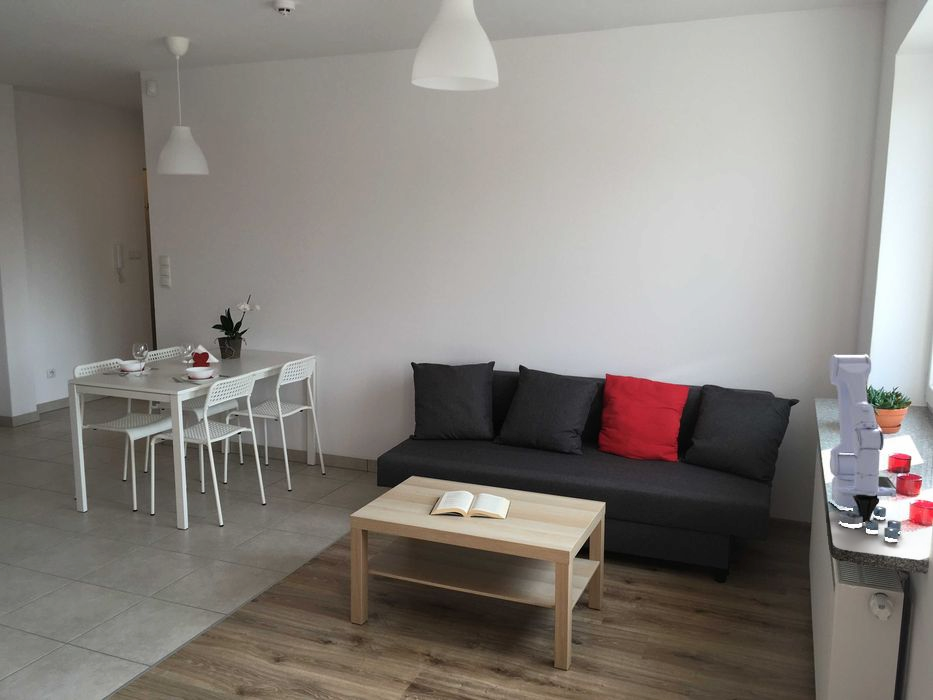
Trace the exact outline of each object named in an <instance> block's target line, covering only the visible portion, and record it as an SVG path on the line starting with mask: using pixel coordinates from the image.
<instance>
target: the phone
mask: <svg viewBox="0 0 933 700" xmlns="http://www.w3.org/2000/svg"><path fill="white" fill-rule="evenodd" d="M878 487H885V488H894V489H897V487H896V486H895V485H894V483H893V482H892V481H891V479H890V478H889V477H888V476H880V475H879V482H878Z"/></svg>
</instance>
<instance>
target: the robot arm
mask: <svg viewBox="0 0 933 700" xmlns="http://www.w3.org/2000/svg"><path fill="white" fill-rule="evenodd" d="M871 360H872V359H871V358H870V356H869V355H868V354H832V355H831V356H830V358H829V365H828V366H829V380H830V384H831V385H833V386H836V390H837V391H836V392H837V398H838V401H837V405H838V417H839V421H838V422H839V436H840V437H839V438H840V442H839V443H838V444H837V445H835V446H834V447H833V448H831V450H830V458H829V470H830V473H831V474H832V475H833V478H832V480H831V499H832V500H834V501H835V503H836V504H837V505H839V506H843V507H847V508H853V507H854V506H858V509H859V513H860V515H861V516H863V522H865V521H866V520H871V517H872V515H873V511H874V509H875V507H876V506H878V504H879V503H880V498H879V497H891V498H897V493H896V490H895V489H894V488H885V487H878V482H879V476H880V475H879V474H880V456H881V455H880V453H881V452H880V451H882V450H883V448H884V445H885V444H884V441H885V439H884V434H883V430H882V429H881V427H880V425H879V424H878V423H877V419H876V413H875V410H874V409H875V408H874V406H873V405H872V404H870V403H869V402H868V394H867V392H868V391H867V383H866V382H867V380H869V376H870V374H871V372H872V361H871Z"/></svg>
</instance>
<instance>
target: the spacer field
mask: <svg viewBox="0 0 933 700" xmlns="http://www.w3.org/2000/svg"><path fill="white" fill-rule="evenodd" d="M852 512H855V513H859V509H858V506H854V507H853V511H852ZM859 514H860V513H859ZM873 514H874V515H875V516H880V517H885V516H887V515H886V514H887V508H886V507H884V506H880V505H879V506H878V505H877V506H876V507H875V509H874V510H873V513H872V515H873ZM864 524H865V525H864V526H865V528H867V529H870V530H878V531H879V521H878V520H875V519H870V520H866V521H865V523H864ZM901 526H902V523H901V521H899V520H894V519H893V520H892V519H891V520H887V527H884V532H883V536H885V537H888V538H893V539H897V538H898V539H899V535H898V532H899V531H901V529H902V527H901Z"/></svg>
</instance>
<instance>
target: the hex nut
mask: <svg viewBox="0 0 933 700" xmlns="http://www.w3.org/2000/svg"><path fill="white" fill-rule="evenodd" d="M839 520H840V521H841V522H842V523H848V524H859V523H862V524H864V523H863V516H861V515H860V514H859V513H855V512H853V511H840V512H838V521H839Z"/></svg>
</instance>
